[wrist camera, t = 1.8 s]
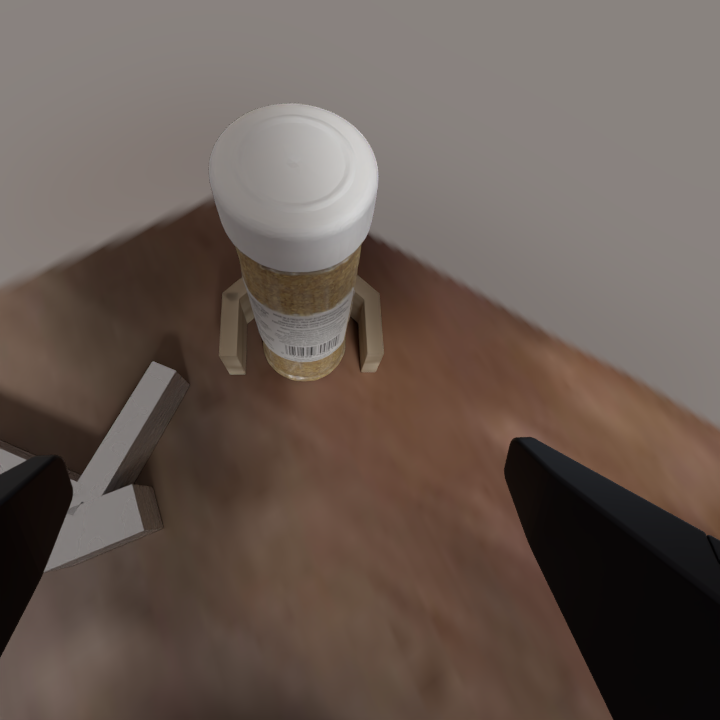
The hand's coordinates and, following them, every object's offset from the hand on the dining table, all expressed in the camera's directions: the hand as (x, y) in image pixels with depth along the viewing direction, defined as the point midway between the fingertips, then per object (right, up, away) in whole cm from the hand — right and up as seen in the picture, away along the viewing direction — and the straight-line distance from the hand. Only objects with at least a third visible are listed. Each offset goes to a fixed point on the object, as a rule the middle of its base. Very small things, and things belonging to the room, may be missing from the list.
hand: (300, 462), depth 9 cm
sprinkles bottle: (-2, +3, +15) cm, 16 cm away
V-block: (-11, -3, +12) cm, 17 cm away
